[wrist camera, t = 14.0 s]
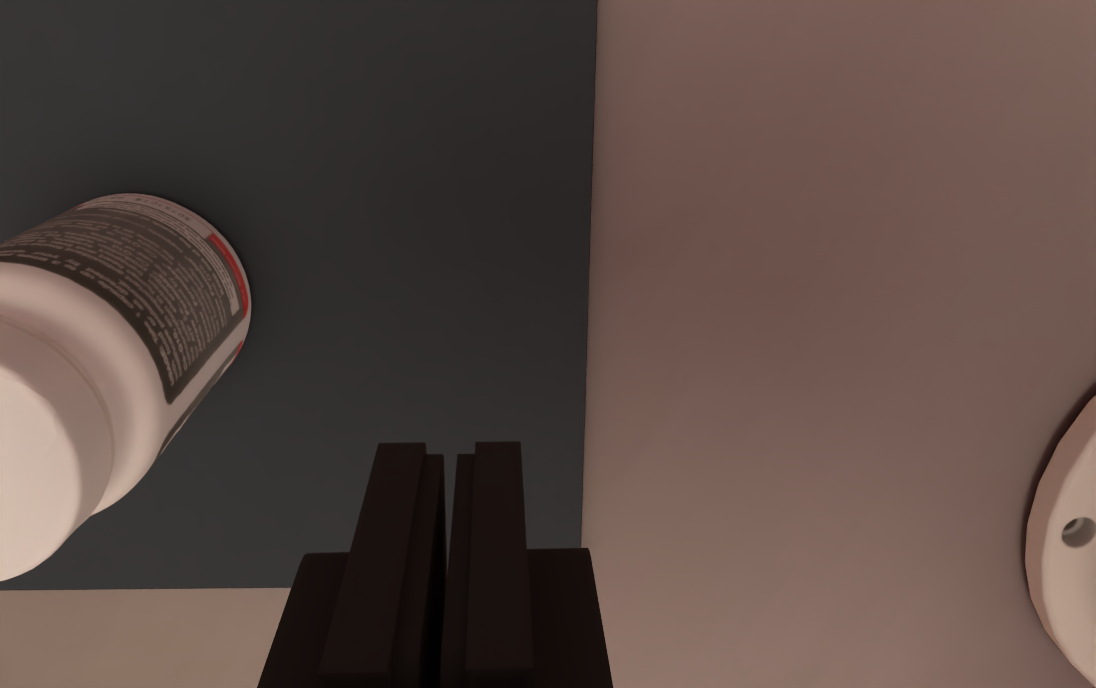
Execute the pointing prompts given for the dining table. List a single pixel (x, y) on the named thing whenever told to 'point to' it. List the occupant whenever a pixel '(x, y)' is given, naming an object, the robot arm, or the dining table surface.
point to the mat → (328, 251)
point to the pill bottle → (104, 357)
